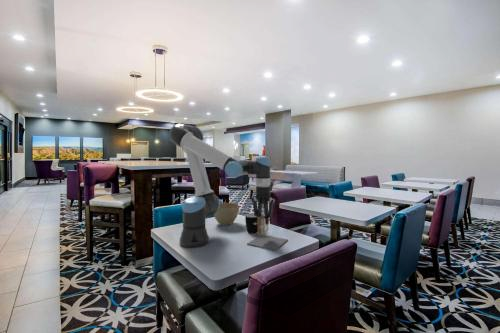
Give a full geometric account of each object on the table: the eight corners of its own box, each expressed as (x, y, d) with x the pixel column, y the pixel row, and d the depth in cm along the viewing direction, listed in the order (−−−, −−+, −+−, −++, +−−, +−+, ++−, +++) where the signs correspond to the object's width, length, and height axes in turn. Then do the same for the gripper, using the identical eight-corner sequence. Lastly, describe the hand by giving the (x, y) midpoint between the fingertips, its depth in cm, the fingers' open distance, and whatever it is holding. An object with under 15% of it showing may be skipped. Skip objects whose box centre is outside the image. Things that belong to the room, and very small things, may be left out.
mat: (247, 244, 128) (247, 243, 128) (261, 235, 142) (261, 234, 142) (275, 250, 120) (275, 249, 120) (287, 240, 134) (287, 239, 134)
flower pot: (206, 223, 165) (206, 205, 164) (228, 218, 177) (228, 201, 177) (222, 229, 152) (222, 210, 151) (244, 224, 164) (244, 205, 163)
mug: (252, 235, 142) (252, 218, 141) (242, 231, 148) (242, 215, 148) (266, 230, 150) (266, 214, 150) (256, 227, 157) (256, 211, 156)
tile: (257, 234, 128) (257, 217, 128) (265, 229, 136) (265, 213, 136) (261, 235, 127) (261, 218, 127) (268, 230, 135) (268, 214, 135)
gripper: (247, 186, 131) (247, 229, 132) (273, 187, 123) (273, 234, 125) (253, 184, 137) (254, 225, 139) (279, 186, 130) (279, 229, 131)
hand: (263, 229), depth 132 cm, fingers closed on tile, 2 cm apart
